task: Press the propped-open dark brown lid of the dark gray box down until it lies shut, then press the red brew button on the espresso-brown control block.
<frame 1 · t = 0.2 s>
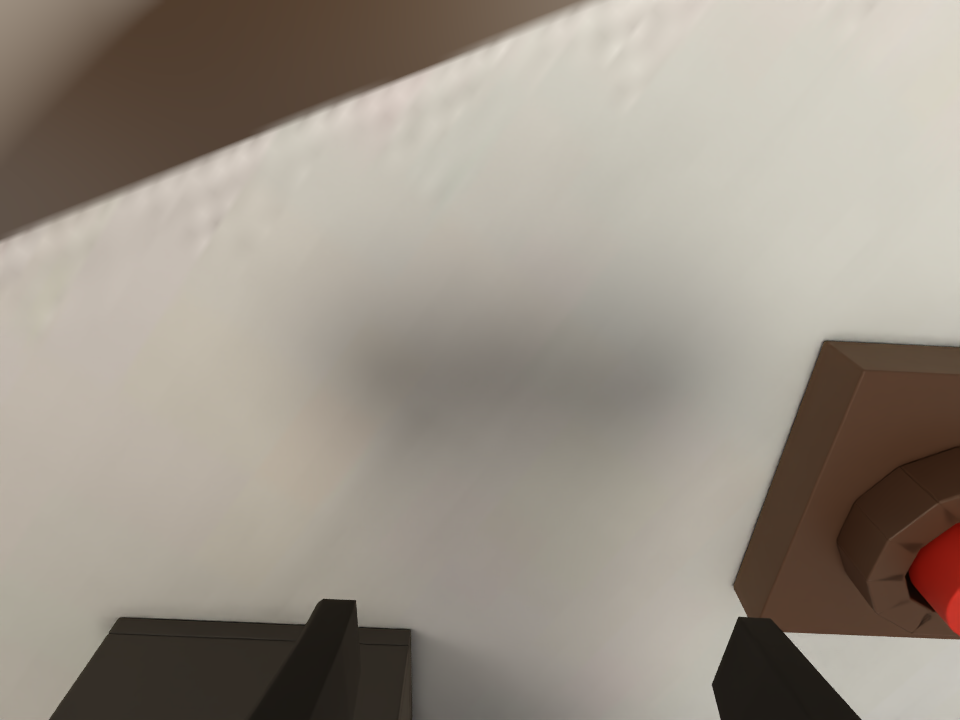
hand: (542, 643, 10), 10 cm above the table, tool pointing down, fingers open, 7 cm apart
dark gray box: (281, 704, 28), on the table
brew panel: (898, 485, 21), on the table
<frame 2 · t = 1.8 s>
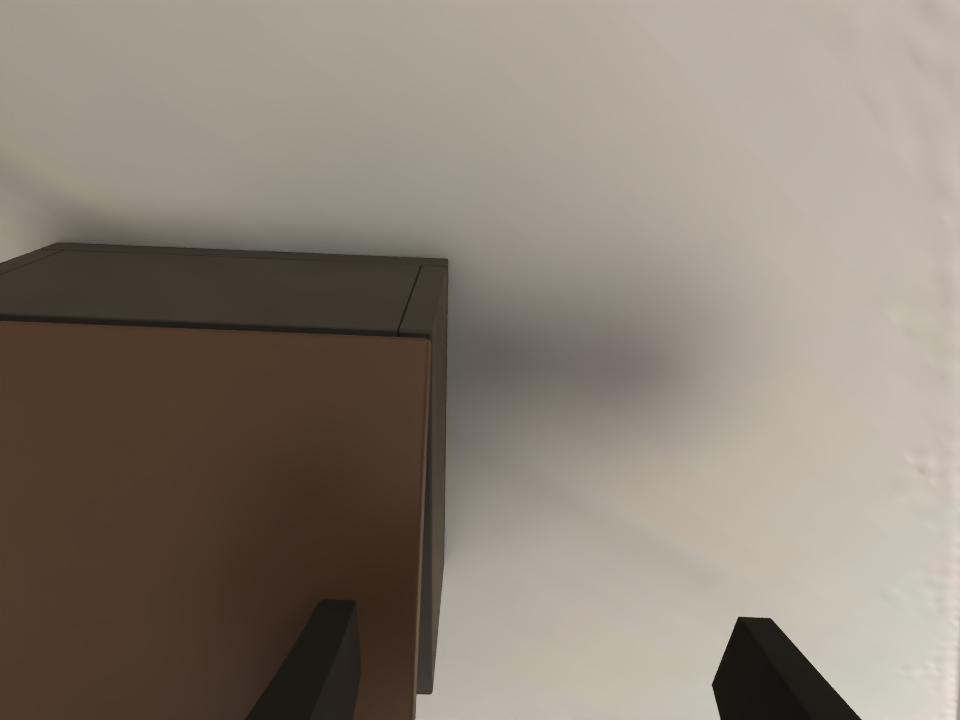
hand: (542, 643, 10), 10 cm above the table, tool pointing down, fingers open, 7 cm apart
brown box lid: (123, 661, 12), point 10 cm above the table, hinge at 28.7°
dark gray box: (279, 426, 21), on the table
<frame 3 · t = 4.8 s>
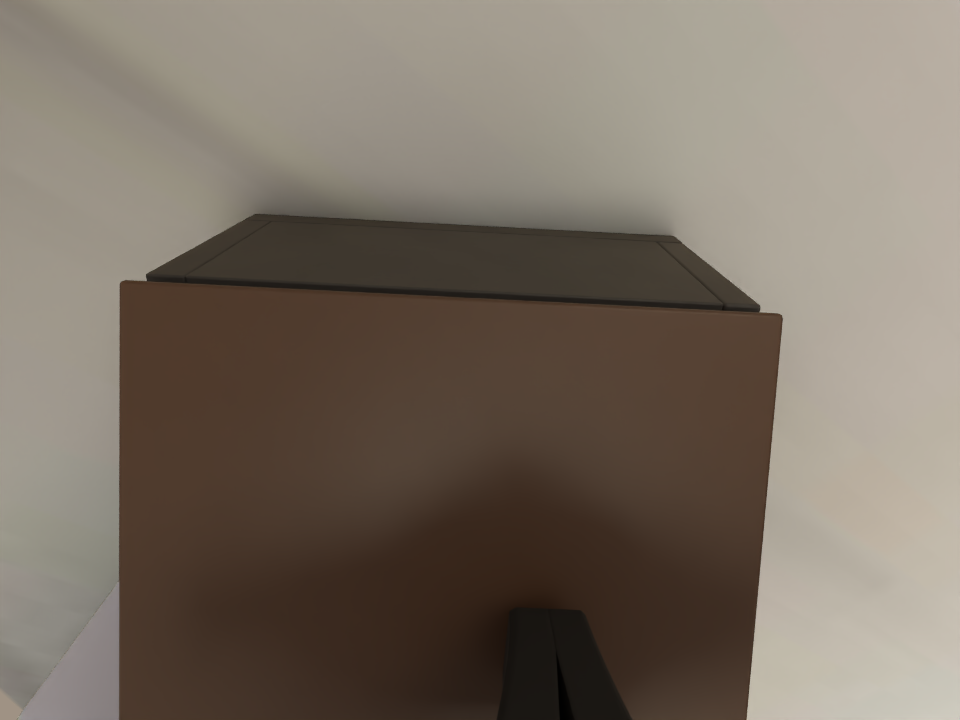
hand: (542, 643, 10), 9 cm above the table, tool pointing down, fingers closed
brown box lid: (438, 649, 11), point 9 cm above the table, hinge at 22.6°
dark gray box: (458, 416, 19), on the table
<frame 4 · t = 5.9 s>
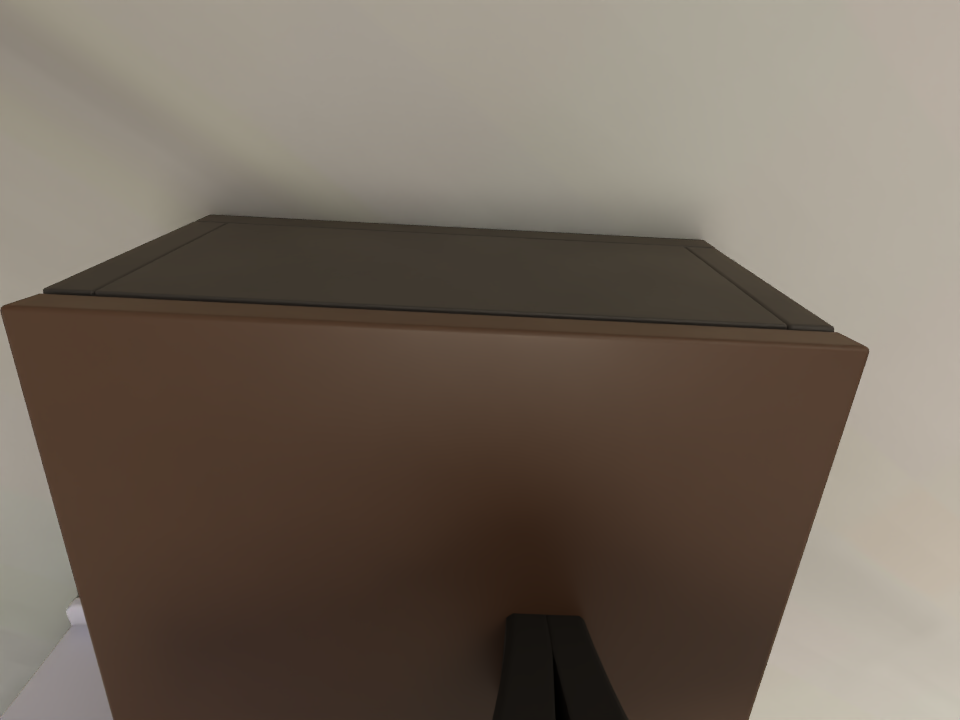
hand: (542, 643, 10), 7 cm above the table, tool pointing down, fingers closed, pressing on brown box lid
brown box lid: (433, 668, 11), point 7 cm above the table, hinge at 5.2°, touching arm, gripper
dark gray box: (451, 447, 17), on the table
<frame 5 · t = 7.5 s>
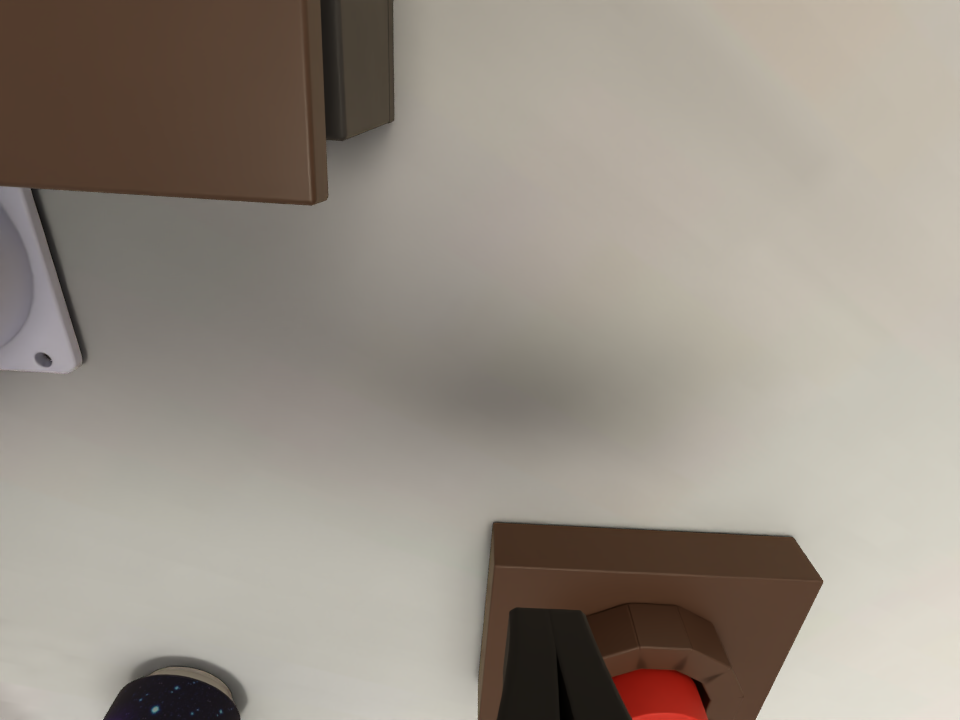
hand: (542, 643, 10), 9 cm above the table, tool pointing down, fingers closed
beverage can: (190, 689, 27), on the table
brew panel: (621, 614, 24), on the table
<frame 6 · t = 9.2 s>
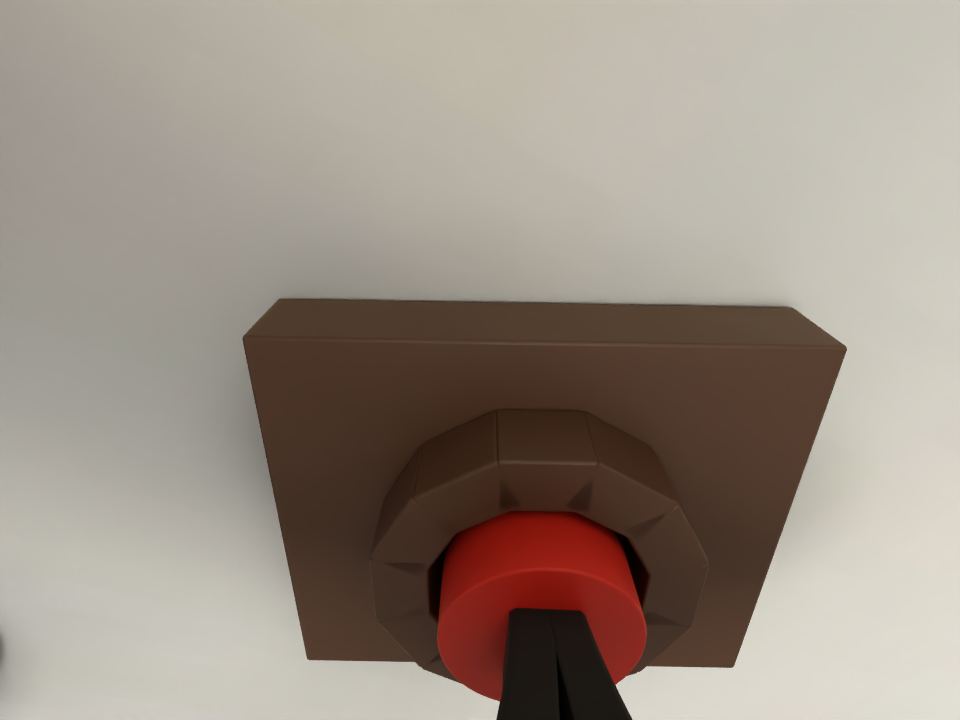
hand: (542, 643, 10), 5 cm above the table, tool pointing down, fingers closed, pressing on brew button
brew button: (537, 605, 11), point 4 cm above the table, slide at -0.1 cm, touching gripper
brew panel: (524, 472, 15), on the table
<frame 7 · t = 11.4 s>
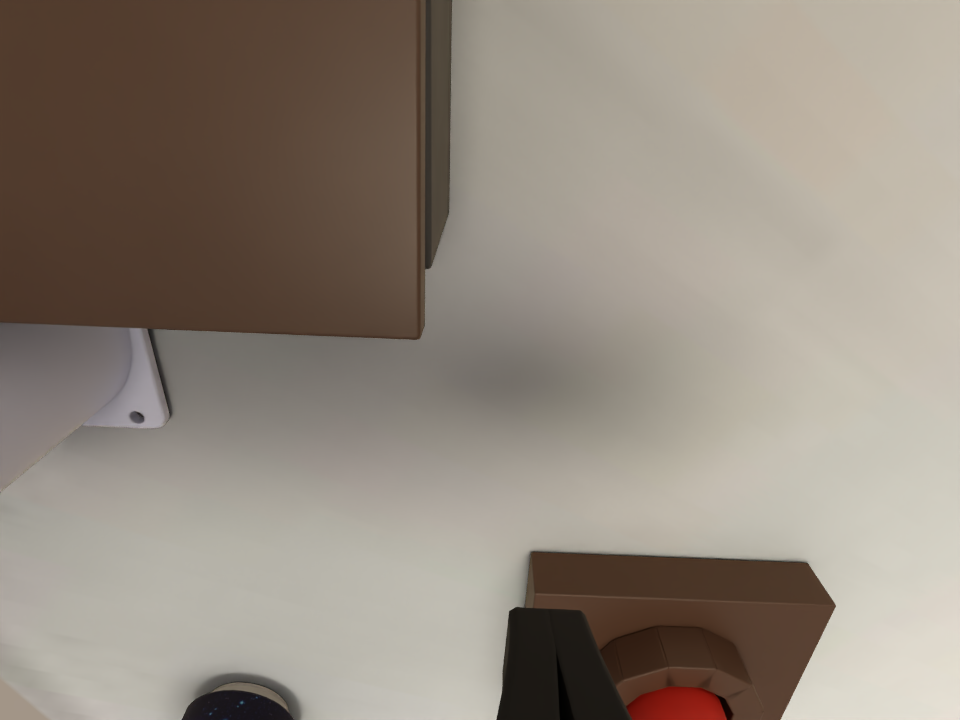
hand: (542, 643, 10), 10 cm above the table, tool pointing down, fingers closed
beverage can: (250, 702, 29), on the table
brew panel: (648, 633, 26), on the table
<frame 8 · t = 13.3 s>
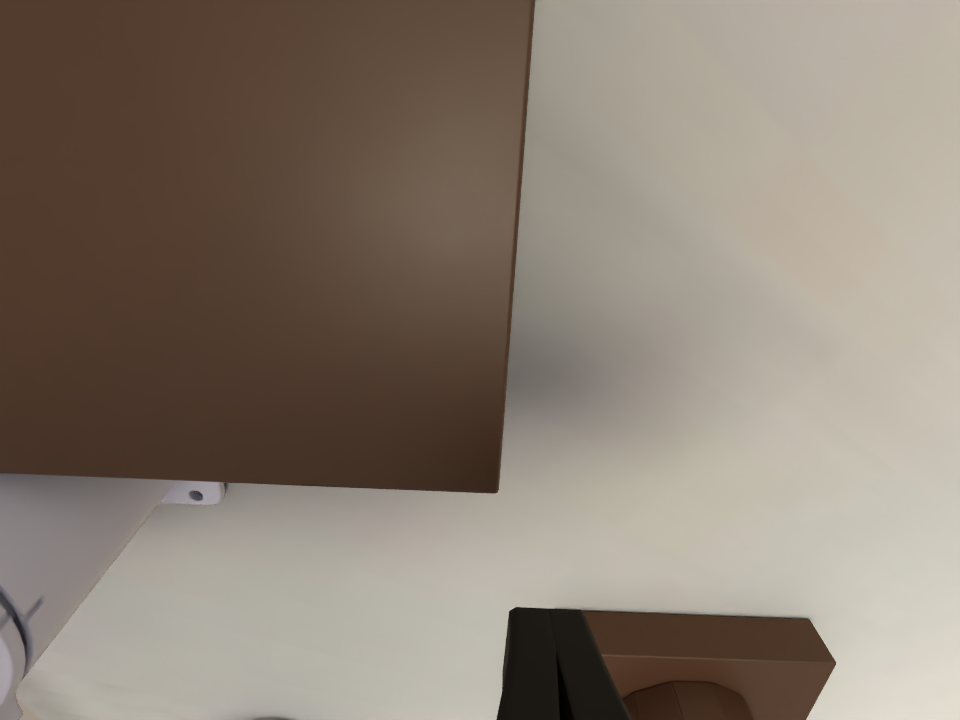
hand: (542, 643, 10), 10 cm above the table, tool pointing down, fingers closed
brown box lid: (163, 121, 9), point 7 cm above the table, hinge at 5.2°, touching arm
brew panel: (661, 680, 27), on the table
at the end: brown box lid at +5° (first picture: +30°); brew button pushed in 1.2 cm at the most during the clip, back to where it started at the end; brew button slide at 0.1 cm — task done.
